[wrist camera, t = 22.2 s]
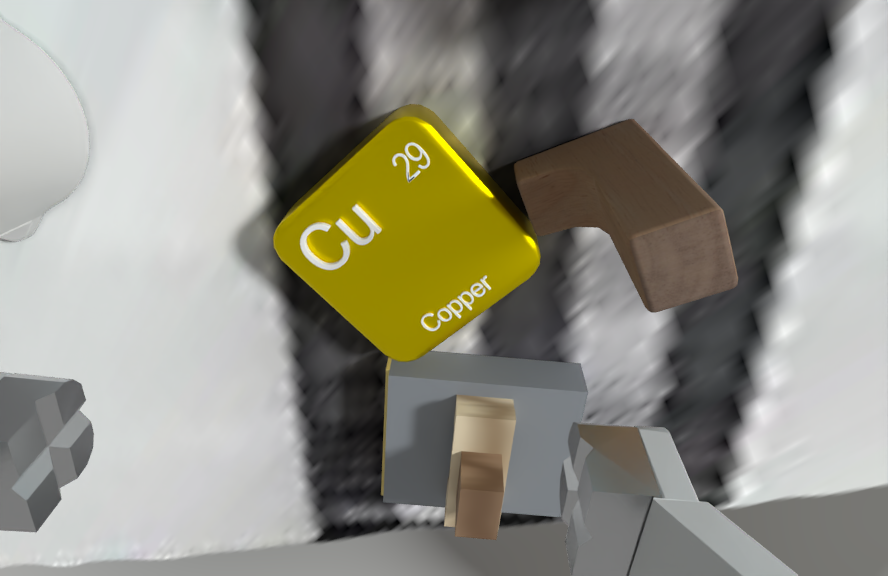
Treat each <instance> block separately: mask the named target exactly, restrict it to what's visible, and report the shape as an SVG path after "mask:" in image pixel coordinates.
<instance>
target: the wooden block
mask: <svg viewBox="0 0 888 576" xmlns="http://www.w3.org/2000/svg"><path fill="white" fill-rule="evenodd" d="M514 171H515V176H516V181H517V186H518V189H519V191H520V194H521V197H522V199H523V202H524V205H525V208H526V210H527V213H528V216H529V218H530V221H531V224H532V227H533V229H534V232H535V233H536V234H537V235H538V236H543V235H547V234H550V233H554V232H558V231H561V230H565V229H569V228H573V227H598V228H600V229H602V230H603V231H605V232H606V233H608V234H609V235H610V237H611V239H612V241H613V243H614V245H615V247H616V249H617V251H618V253H619V255H620V257H621V259H622V261H623V263H624V265H625V267H626V269H627V271H628V273H629V275H630V277H631V279H632V281H633V283H634V285H635V287H636V289H637V291H638V293H639V295H640V297H641V299H642V301H643V303H644V305H645V307H646V308H647V309H648V311H650V312H659V311H662V310H665V309H668V308H672V307H675V306H678V305H681V304H684V303H688V302H691V301H694V300H697V299H701V298H704V297H707V296H710V295H713V294H717V293H720V292H723V291H726V290H729V289H733V288H734V287H736V286H737V283H738V276H737V271H736V267H735V262H734V258H733V253H732V248H731V244H730V239H729V235H728V230H727V226H726V221H725V217H724V212H723V210H722V209H721V208H720V206H719V205H718V204H717V203H716V202H715V201H714V200H713V199H712V198H711V197H710V196H709V195H708V194H707V193H706V192H705V191H704V190H703V189H702V188H701V187H700V186H699V185H698V184H697V183H696V182H695V181H694V180H693V179H692V178H691V177H690V176H689V175H688V174H687V173H686V172H685V171H684V170H683V169H682V168H681V167H680V166H679V165H678V164H677V163H676V162H675V161H674V160H673V159H672V158H671V157H670V156H669V155H668V154H667V153H666V152H665V151H664V150H663V149H662V148H661V146H660V145H659V144H658V143H657V142H656V141H655V140H654V139H653V138H652V137H651V136H650V135H649V134H648V133H647V132H646V131H645V130H644V129H643V128H642V127H641V126H640V125H639V124H638V123H637V122H636V121H635V120H634V119H629V120H626V121H623V122H621V123H618V124H615V125H613V126H610V127H607V128H605V129H602V130H599V131H597V132H594V133H592V134H589V135H586V136H584V137H581V138H578V139H576V140H573V141H570V142H568V143H565V144H562V145H560V146H557V147H555V148H552V149H549V150H547V151H544V152H541V153H539V154H536V155H534V156H531V157H528V158H526V159H523V160H520V161H518V162H516V163H515V164H514Z"/></svg>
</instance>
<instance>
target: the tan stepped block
mask: <svg viewBox="0 0 888 576" xmlns="http://www.w3.org/2000/svg"><path fill="white" fill-rule="evenodd" d="M515 425H516V414H515V409H514V401H513V399H503V398H492V397H480V396H468V395H457V396H456V406H455V415H454V433H453V442H452V452H451V461H450V471H449V477H448V482H447V491H446V505H445V523H444V526H448V527H455V518H456V494H457V485H458V476H459V468H460V459H461V451H466V452H478V453H490V454H501V455H502V466H503V483H504V492H505V486H506V479H507V473H508V467H509V461H510V455H511V449H512V443H513V437H514V431H515ZM503 498H504V496H503ZM502 504H503V502H502ZM501 510H502V508H501ZM500 516H501V514H500ZM499 522H500V521H499ZM498 528H499V527H498Z"/></svg>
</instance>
